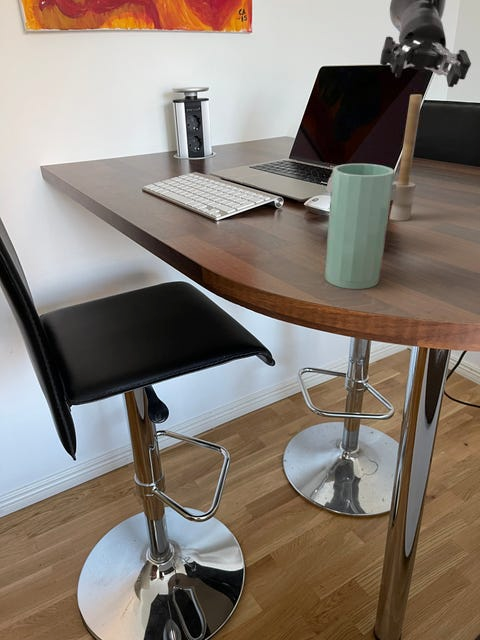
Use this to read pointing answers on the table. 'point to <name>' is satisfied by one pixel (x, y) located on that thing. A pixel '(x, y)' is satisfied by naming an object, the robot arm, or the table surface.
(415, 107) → the brush
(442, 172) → the table surface
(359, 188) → the mint green pencil cup
